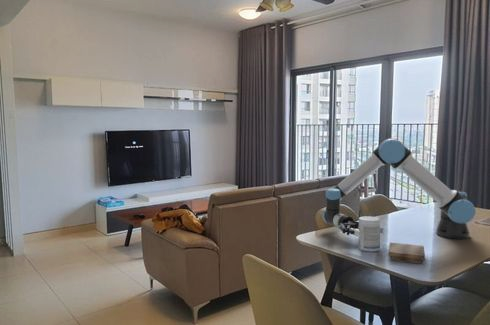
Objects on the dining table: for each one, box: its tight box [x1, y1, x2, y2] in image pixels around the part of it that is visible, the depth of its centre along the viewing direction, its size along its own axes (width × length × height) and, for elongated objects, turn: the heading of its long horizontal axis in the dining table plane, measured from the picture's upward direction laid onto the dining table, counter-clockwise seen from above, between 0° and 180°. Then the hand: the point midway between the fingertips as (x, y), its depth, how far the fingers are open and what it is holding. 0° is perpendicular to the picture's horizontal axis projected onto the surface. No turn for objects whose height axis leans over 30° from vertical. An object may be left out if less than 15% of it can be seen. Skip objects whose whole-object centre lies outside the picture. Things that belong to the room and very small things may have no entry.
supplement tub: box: [358, 215, 381, 253], centre depth 173 cm, size 10×10×15 cm
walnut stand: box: [387, 242, 426, 265], centre depth 161 cm, size 14×14×4 cm
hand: (371, 232), depth 171 cm, fingers open, 13 cm apart
